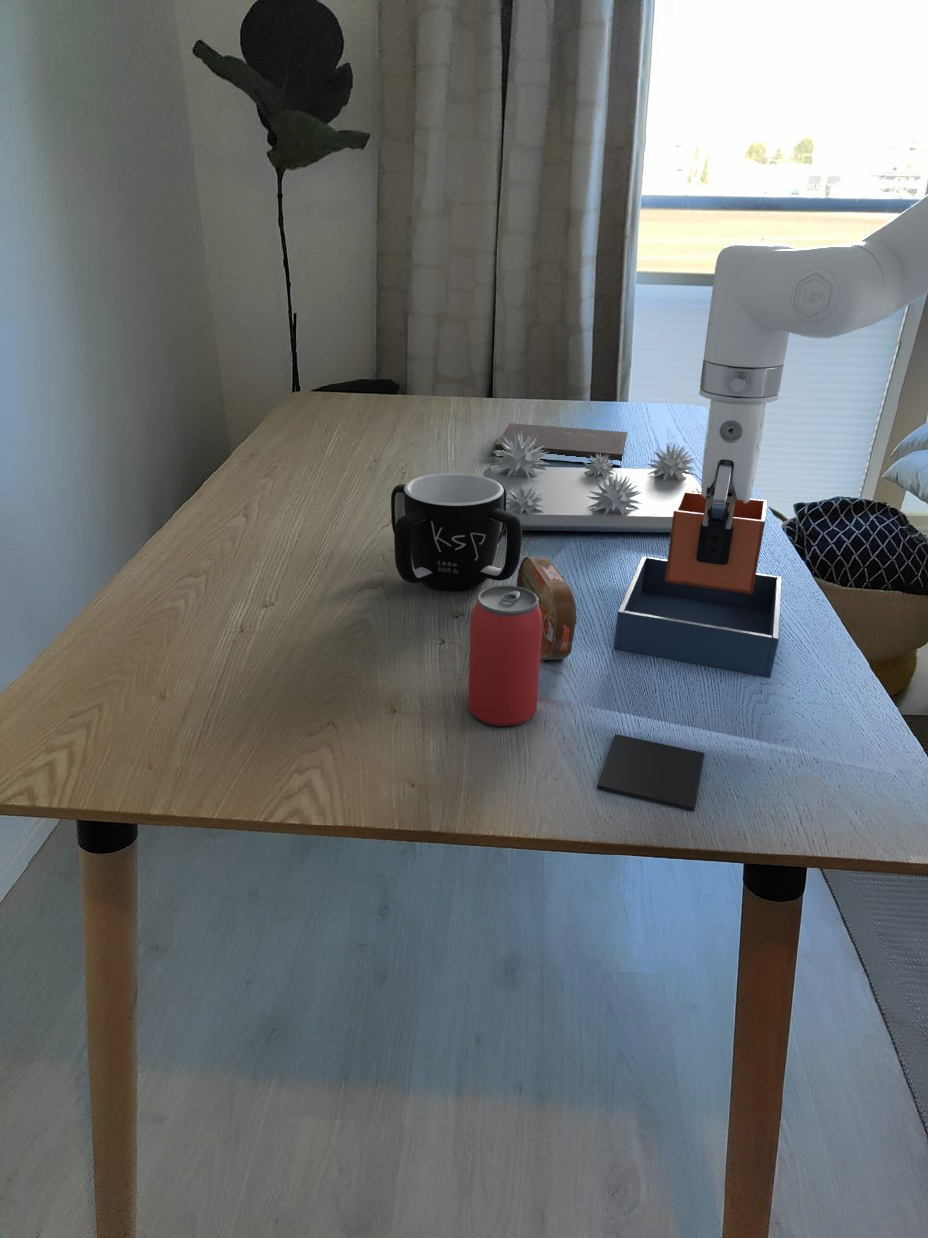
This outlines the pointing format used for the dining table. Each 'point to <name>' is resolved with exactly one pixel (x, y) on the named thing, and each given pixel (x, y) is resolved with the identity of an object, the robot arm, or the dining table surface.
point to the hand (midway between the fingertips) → (715, 548)
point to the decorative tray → (591, 491)
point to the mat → (652, 772)
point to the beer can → (504, 655)
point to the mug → (453, 530)
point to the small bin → (742, 551)
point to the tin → (550, 605)
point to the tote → (700, 621)
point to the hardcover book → (569, 440)
